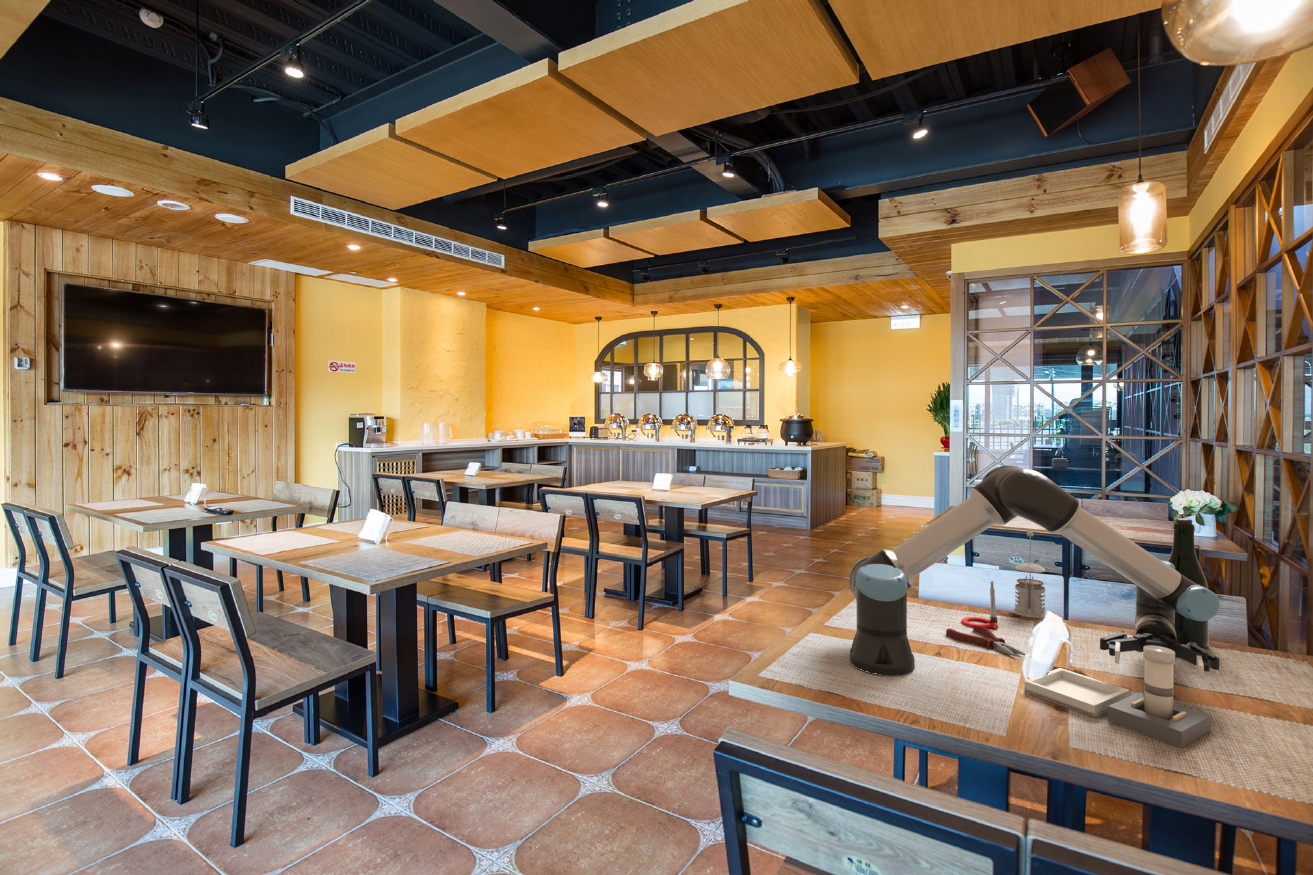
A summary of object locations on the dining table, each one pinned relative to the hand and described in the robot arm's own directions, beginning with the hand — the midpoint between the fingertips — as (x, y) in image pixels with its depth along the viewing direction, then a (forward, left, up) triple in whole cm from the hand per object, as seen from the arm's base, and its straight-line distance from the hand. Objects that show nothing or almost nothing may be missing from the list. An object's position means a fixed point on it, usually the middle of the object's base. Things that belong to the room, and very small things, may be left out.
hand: (1157, 664), depth 130 cm
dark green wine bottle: (+49, +14, -9) cm, 52 cm away
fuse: (-9, -4, -9) cm, 13 cm away
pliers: (+4, +41, -10) cm, 43 cm away
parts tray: (-9, +11, -9) cm, 17 cm away
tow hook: (+18, +51, -9) cm, 55 cm away
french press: (+40, +49, -9) cm, 64 cm away
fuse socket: (-9, -4, -9) cm, 13 cm away
